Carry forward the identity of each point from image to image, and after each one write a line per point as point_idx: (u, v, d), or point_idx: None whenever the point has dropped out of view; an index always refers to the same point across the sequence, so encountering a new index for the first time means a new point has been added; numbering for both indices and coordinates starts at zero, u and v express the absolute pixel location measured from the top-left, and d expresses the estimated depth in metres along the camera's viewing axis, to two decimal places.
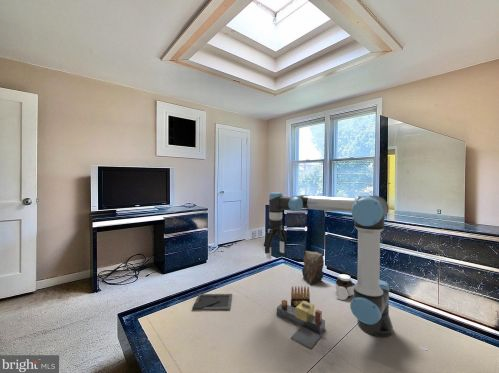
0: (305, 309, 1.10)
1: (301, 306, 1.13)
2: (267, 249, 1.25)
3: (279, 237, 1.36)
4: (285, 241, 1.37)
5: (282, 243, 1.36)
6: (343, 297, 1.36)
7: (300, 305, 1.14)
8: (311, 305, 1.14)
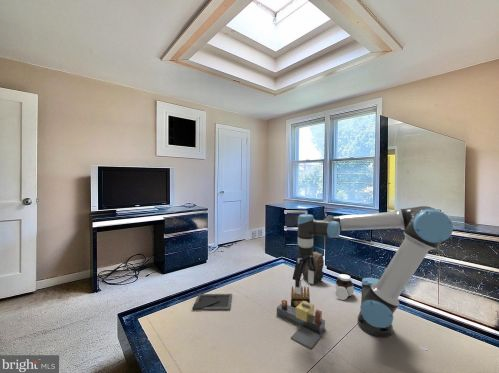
0: (305, 309, 1.10)
1: (301, 306, 1.13)
2: (296, 283, 1.06)
3: (308, 266, 1.17)
4: (315, 270, 1.18)
5: (311, 273, 1.17)
6: (343, 297, 1.36)
7: (300, 305, 1.14)
8: (311, 305, 1.14)
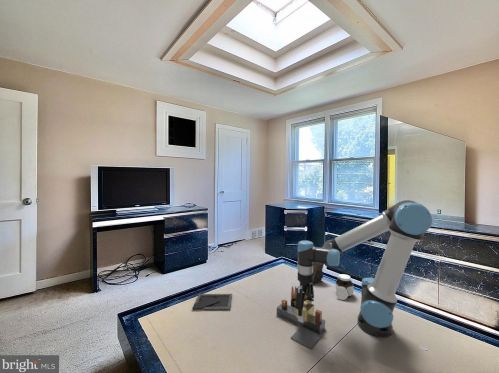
0: (305, 309, 1.10)
1: None
2: (299, 311, 1.09)
3: (306, 294, 1.16)
4: None
5: None
6: (343, 297, 1.36)
7: None
8: (311, 305, 1.13)
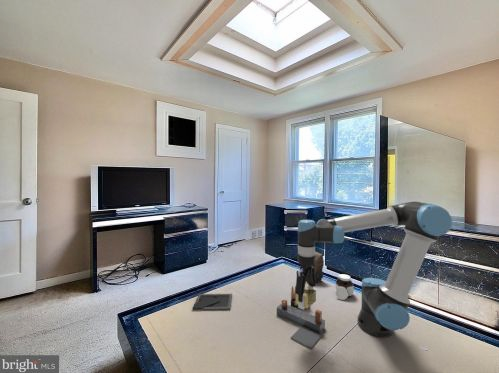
0: (306, 295, 0.99)
1: None
2: (300, 297, 0.98)
3: (308, 279, 1.05)
4: (314, 286, 1.05)
5: (311, 288, 1.05)
6: (343, 297, 1.36)
7: None
8: (312, 290, 1.03)
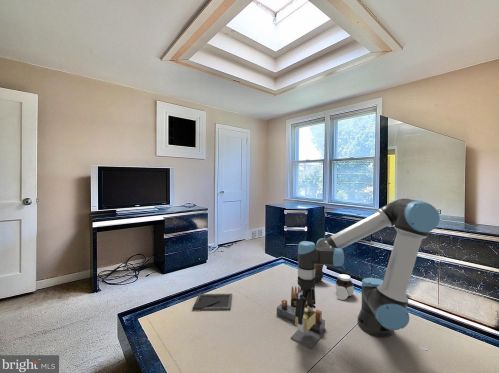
0: (306, 317, 1.00)
1: None
2: (299, 320, 0.98)
3: (307, 300, 1.06)
4: (314, 307, 1.06)
5: None
6: (343, 297, 1.36)
7: None
8: (312, 312, 1.03)
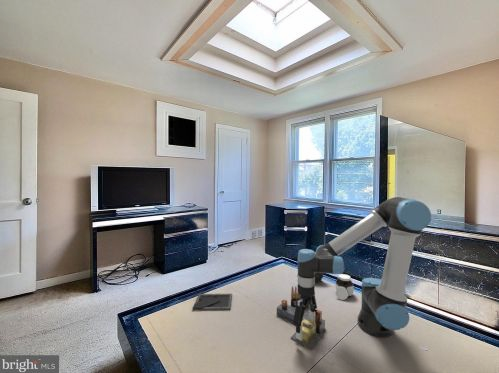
0: (306, 330, 1.00)
1: None
2: (297, 328, 0.97)
3: (308, 306, 1.06)
4: (316, 311, 1.07)
5: (312, 314, 1.07)
6: (343, 297, 1.36)
7: None
8: (312, 325, 1.04)
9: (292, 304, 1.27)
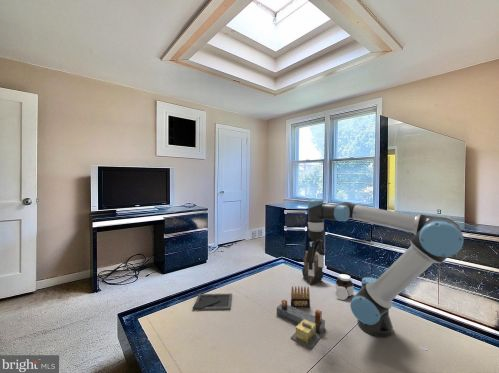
0: (306, 330, 1.00)
1: (301, 326, 1.03)
2: (310, 265, 1.09)
3: (318, 250, 1.20)
4: (324, 254, 1.21)
5: (321, 256, 1.21)
6: (343, 297, 1.36)
7: (300, 325, 1.04)
8: (312, 325, 1.04)
9: (292, 304, 1.27)
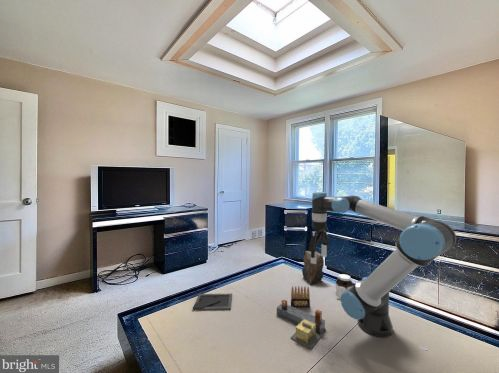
0: (306, 330, 1.00)
1: (301, 326, 1.03)
2: (312, 253, 1.16)
3: (321, 240, 1.26)
4: (327, 244, 1.27)
5: (324, 246, 1.27)
6: None
7: (300, 325, 1.04)
8: (312, 325, 1.04)
9: (292, 304, 1.27)
